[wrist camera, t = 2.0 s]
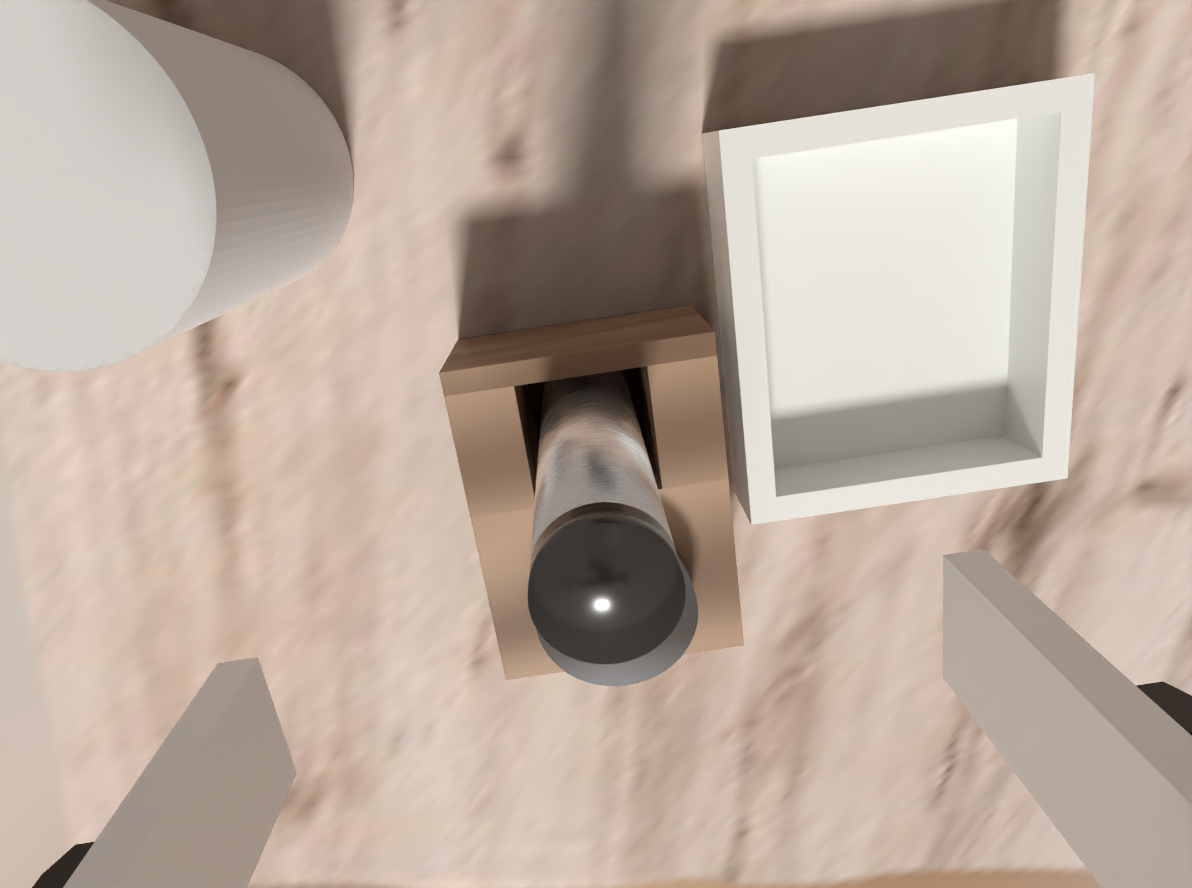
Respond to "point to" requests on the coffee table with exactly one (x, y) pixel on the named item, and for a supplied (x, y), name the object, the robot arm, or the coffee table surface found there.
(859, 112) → the tray
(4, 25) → the white cylinder
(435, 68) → the coffee table surface
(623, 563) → the pin
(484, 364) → the block
